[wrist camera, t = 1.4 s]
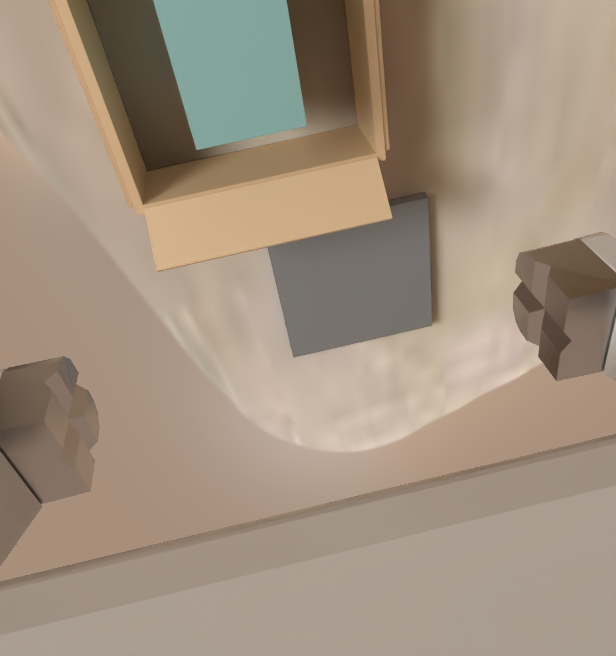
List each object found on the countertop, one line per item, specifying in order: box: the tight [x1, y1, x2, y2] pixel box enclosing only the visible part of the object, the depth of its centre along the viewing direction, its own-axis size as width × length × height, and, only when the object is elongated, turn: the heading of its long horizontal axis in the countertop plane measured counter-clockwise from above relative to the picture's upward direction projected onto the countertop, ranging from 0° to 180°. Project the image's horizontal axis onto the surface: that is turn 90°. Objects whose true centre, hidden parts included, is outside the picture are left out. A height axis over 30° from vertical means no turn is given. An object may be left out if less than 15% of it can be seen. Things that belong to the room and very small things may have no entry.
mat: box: [268, 193, 432, 357], centre depth 42 cm, size 11×11×1 cm
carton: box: [48, 0, 392, 272], centre depth 28 cm, size 14×20×7 cm
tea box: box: [153, 0, 307, 150], centre depth 28 cm, size 5×6×9 cm
